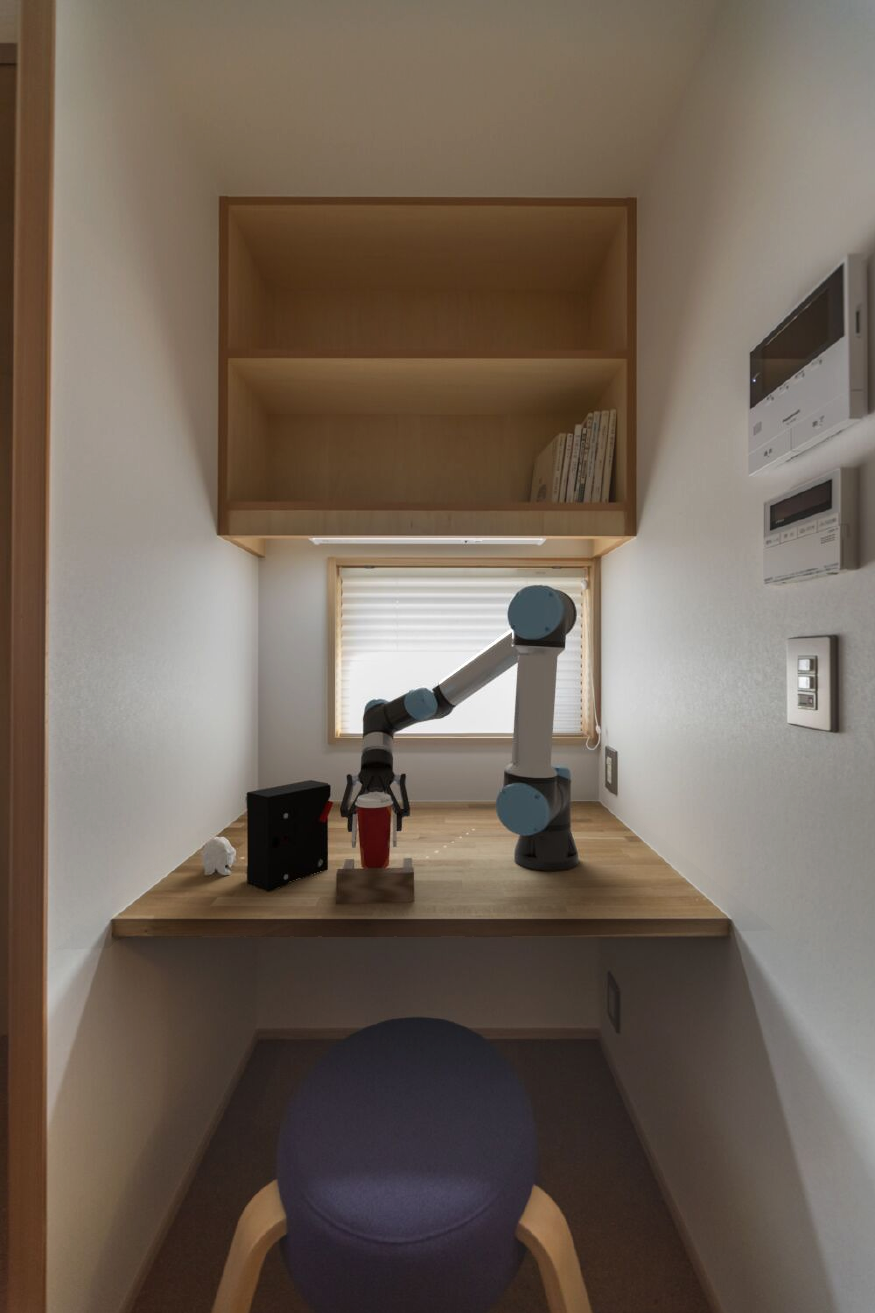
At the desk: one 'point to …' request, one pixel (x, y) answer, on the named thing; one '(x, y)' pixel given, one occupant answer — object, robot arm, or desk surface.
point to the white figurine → (218, 856)
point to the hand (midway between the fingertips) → (374, 844)
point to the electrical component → (287, 833)
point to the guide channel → (375, 884)
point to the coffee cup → (374, 829)
